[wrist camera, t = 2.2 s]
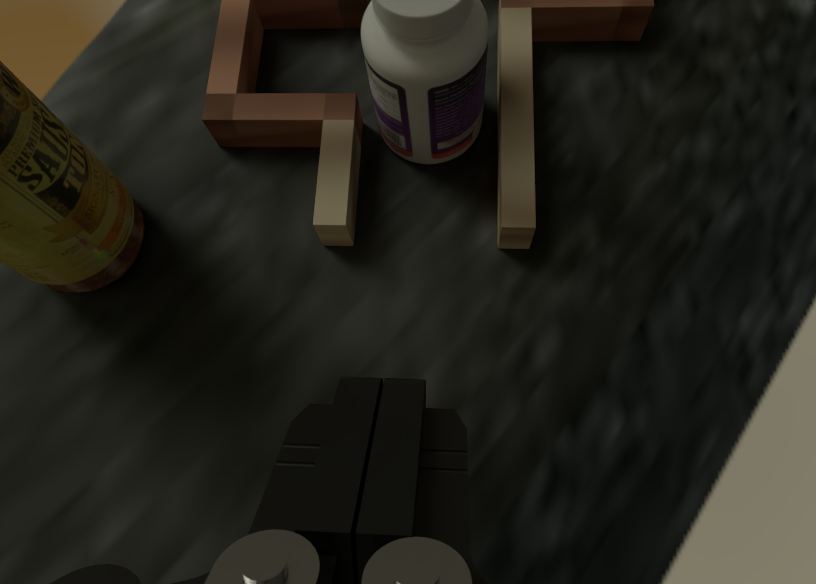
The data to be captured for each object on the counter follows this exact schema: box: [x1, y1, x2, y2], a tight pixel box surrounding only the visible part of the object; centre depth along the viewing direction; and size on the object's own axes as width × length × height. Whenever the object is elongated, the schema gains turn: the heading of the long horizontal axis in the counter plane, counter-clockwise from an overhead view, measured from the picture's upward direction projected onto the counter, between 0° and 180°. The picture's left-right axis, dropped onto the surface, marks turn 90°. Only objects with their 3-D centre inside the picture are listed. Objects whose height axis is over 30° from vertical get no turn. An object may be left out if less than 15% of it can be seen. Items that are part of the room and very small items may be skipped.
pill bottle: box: [361, 0, 488, 164], centre depth 28 cm, size 5×5×10 cm
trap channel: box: [202, 0, 654, 249], centre depth 33 cm, size 26×22×4 cm
